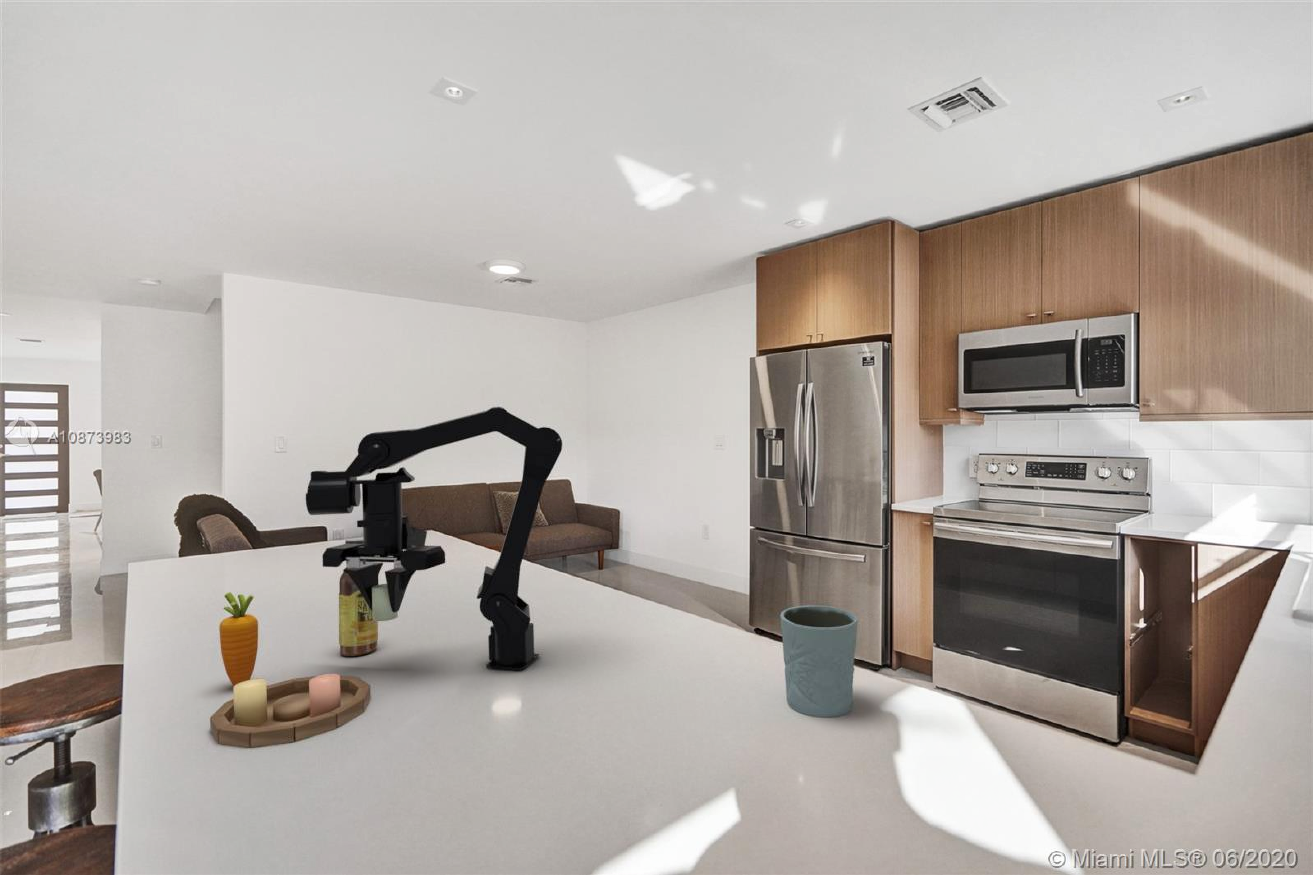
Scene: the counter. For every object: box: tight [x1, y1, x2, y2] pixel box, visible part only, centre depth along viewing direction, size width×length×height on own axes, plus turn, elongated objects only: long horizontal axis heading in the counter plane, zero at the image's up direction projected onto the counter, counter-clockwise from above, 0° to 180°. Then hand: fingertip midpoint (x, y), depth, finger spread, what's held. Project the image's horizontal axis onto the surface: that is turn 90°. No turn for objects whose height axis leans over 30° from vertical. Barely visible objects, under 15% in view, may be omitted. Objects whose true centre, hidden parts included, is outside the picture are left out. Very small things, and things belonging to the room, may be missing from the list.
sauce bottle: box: [338, 537, 379, 657], centre depth 112 cm, size 7×6×20 cm
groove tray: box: [209, 674, 372, 748], centre depth 85 cm, size 18×18×2 cm
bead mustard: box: [232, 678, 267, 727], centre depth 83 cm, size 4×4×5 cm
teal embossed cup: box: [780, 604, 858, 718], centre depth 85 cm, size 10×10×12 cm
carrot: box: [218, 591, 259, 687], centre depth 95 cm, size 5×5×15 cm
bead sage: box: [372, 583, 399, 622], centre depth 100 cm, size 4×4×5 cm
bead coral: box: [309, 673, 341, 718], centre depth 84 cm, size 4×4×5 cm
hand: (385, 611), depth 100 cm, fingers closed on bead sage, 4 cm apart
